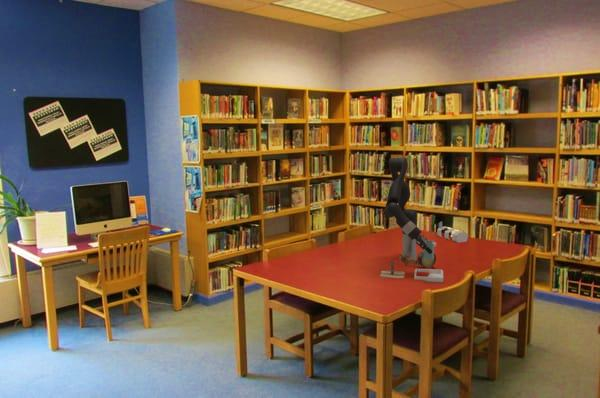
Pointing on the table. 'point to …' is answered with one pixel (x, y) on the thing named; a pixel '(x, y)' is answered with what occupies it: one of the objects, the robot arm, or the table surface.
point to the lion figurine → (408, 260)
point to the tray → (430, 275)
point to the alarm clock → (426, 260)
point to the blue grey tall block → (431, 246)
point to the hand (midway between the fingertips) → (432, 251)
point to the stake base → (396, 274)
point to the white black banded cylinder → (453, 234)
